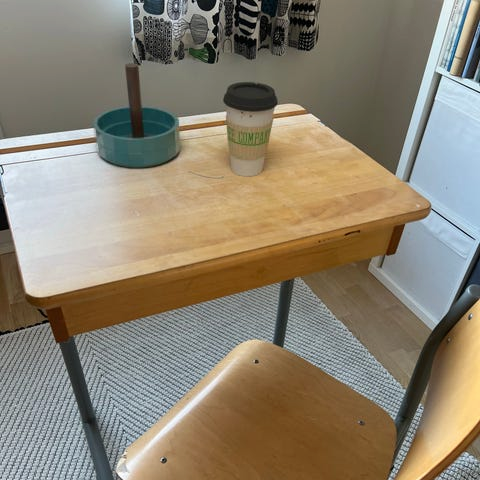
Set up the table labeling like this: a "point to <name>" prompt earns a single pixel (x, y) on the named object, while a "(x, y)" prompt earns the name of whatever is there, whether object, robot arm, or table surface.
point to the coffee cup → (249, 125)
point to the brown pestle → (134, 101)
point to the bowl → (137, 149)
